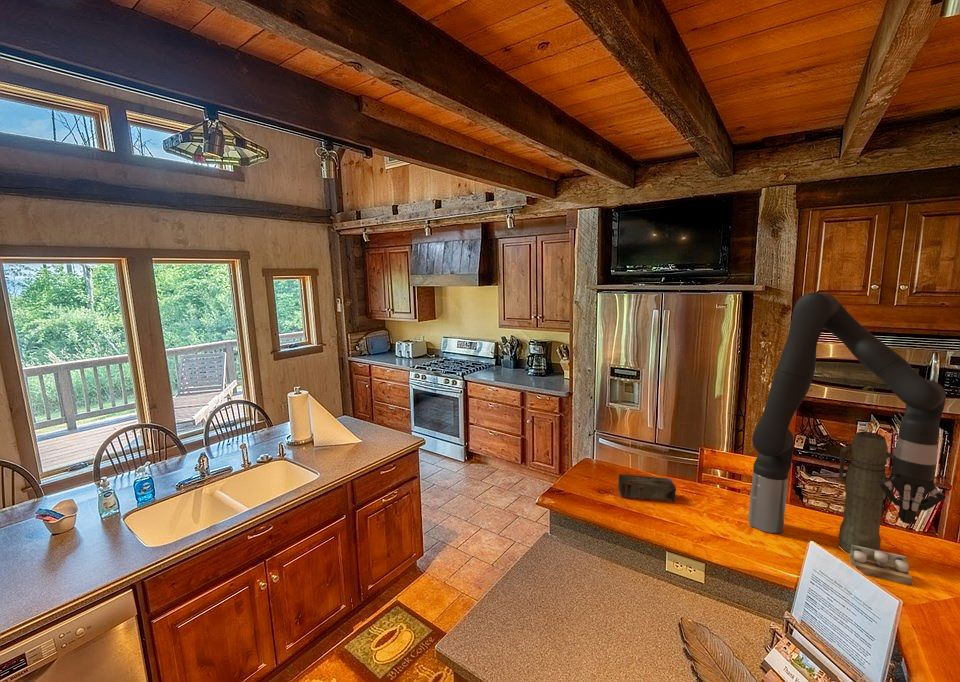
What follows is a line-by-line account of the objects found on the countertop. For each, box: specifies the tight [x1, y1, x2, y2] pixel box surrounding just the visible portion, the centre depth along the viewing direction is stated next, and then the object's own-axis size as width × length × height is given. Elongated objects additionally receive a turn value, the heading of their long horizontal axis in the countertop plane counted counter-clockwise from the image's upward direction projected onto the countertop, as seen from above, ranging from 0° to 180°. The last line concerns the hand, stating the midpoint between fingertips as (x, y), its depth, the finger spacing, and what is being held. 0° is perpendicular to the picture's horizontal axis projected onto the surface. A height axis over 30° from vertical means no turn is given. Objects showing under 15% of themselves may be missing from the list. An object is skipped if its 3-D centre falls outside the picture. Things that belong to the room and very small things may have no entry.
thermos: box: [838, 431, 895, 555], centre depth 123 cm, size 9×12×35 cm
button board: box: [848, 545, 914, 587], centre depth 115 cm, size 11×6×5 cm, turn 62°
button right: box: [894, 560, 910, 573], centre depth 113 cm, size 3×3×4 cm
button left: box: [853, 551, 867, 563], centre depth 117 cm, size 3×3×4 cm
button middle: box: [874, 550, 888, 568], centre depth 115 cm, size 3×3×4 cm
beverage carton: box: [617, 473, 677, 503], centre depth 159 cm, size 8×19×7 cm, turn 80°
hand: (906, 522), depth 112 cm, fingers closed
